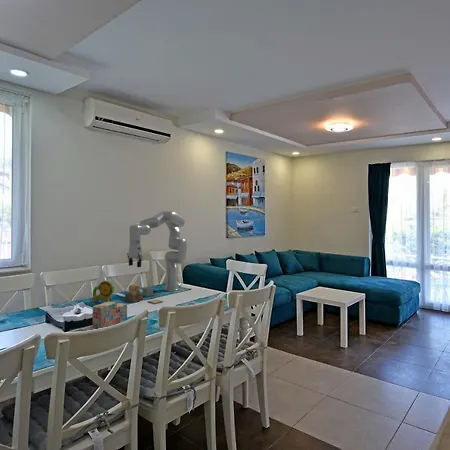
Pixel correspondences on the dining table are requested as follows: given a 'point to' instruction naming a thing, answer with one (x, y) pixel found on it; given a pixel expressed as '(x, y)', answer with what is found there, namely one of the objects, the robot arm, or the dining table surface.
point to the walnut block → (133, 297)
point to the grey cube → (147, 291)
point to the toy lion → (103, 292)
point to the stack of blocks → (108, 314)
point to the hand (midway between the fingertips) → (134, 266)
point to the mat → (155, 301)
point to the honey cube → (134, 289)
